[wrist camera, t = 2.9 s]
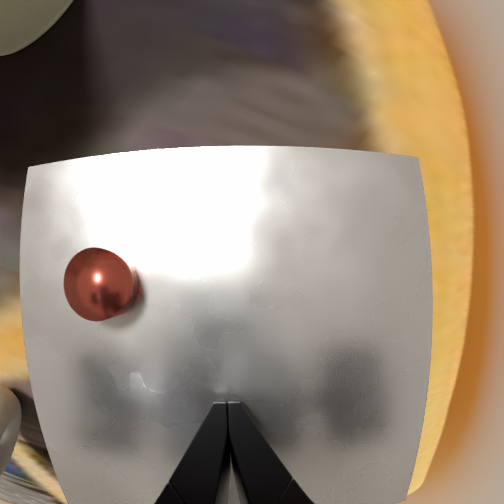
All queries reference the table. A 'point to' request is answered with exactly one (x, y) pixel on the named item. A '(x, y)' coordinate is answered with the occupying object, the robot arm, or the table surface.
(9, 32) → the can
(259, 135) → the table surface
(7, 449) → the donut
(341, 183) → the lid
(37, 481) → the table surface
